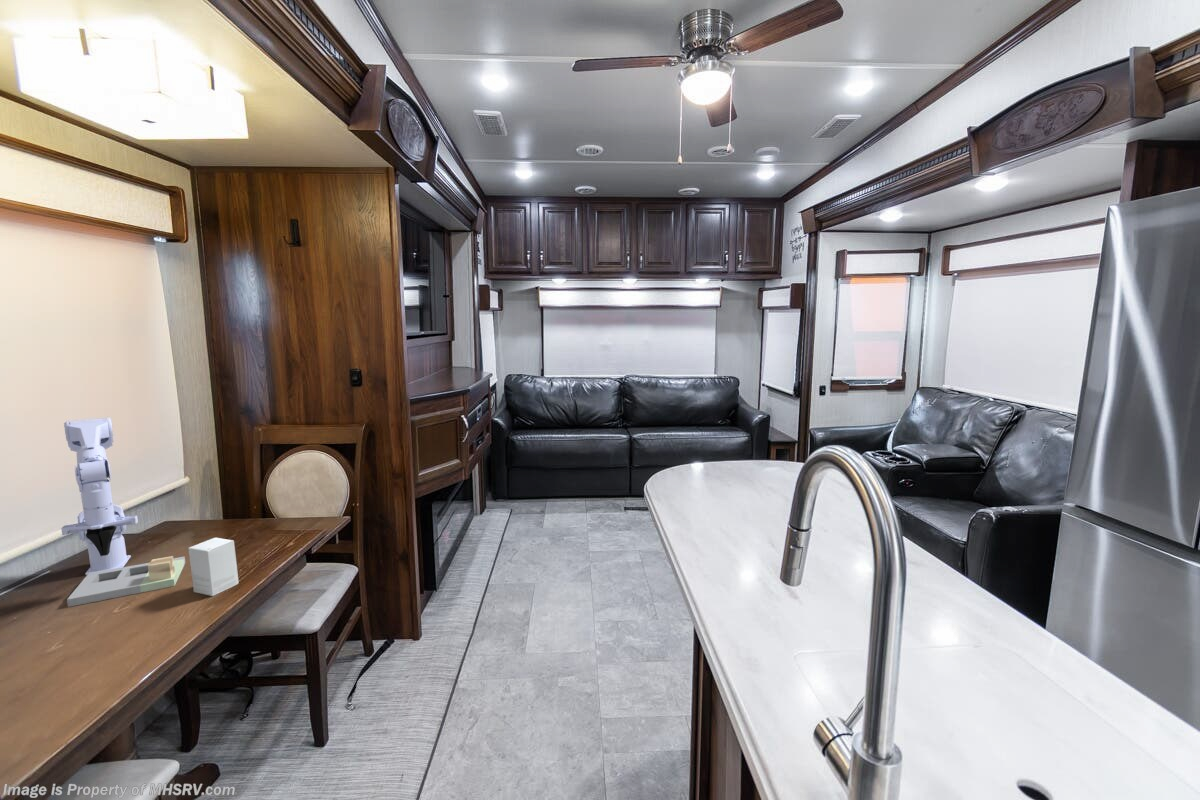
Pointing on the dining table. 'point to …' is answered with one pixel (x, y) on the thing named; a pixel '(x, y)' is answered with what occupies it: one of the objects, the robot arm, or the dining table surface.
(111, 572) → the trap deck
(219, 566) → the supplement box
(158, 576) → the maple block
